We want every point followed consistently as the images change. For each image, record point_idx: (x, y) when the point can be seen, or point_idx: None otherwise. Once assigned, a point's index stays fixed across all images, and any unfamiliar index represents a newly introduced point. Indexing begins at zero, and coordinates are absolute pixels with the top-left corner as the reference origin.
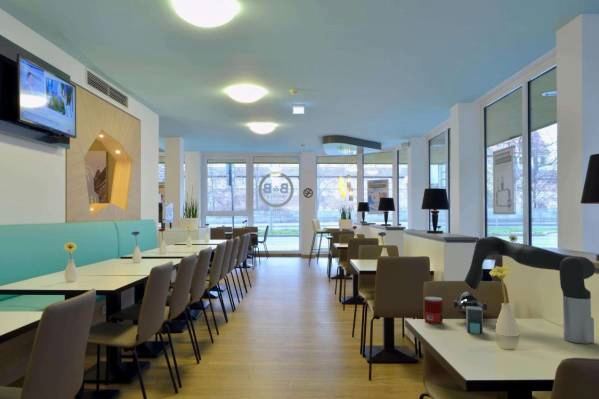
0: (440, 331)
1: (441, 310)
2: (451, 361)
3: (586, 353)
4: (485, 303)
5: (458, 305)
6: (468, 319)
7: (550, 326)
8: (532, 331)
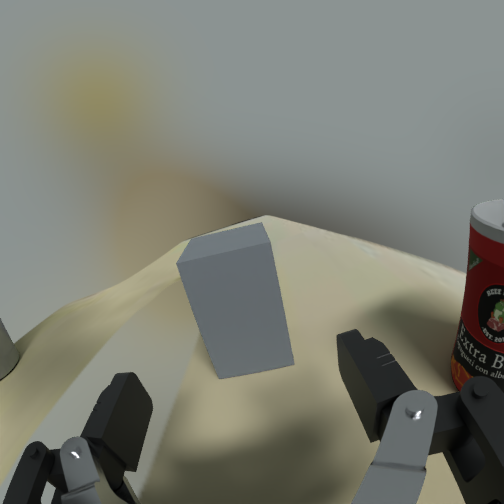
0: (376, 289)
1: (465, 301)
2: (288, 222)
3: (57, 313)
4: (13, 491)
5: (396, 373)
6: (272, 319)
7: None
8: (18, 423)
